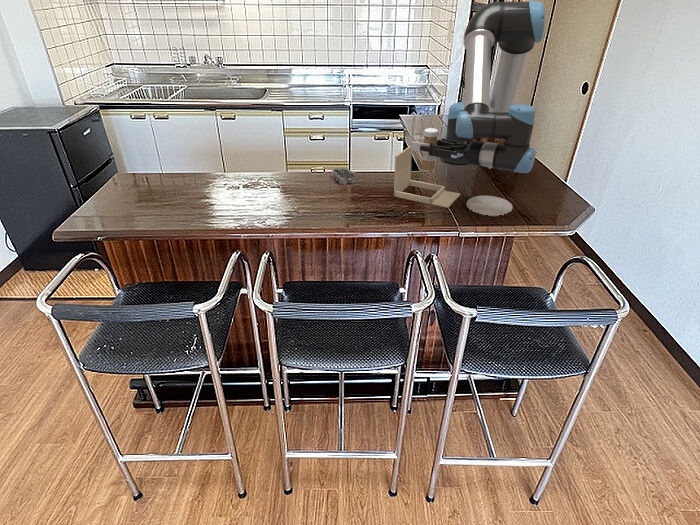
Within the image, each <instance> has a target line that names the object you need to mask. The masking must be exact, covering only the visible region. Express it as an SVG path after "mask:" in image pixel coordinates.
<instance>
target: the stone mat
mask: <svg viewBox="0 0 700 525" xmlns="http://www.w3.org/2000/svg"><path fill="white" fill-rule="evenodd" d="M466 207H467V209H468V208H469V209H468V210H469V211H471V210H472V211H471V212H473V213H475V212H476V213H475V214H477V213H479V214H478V215H481V214H482V216H486V215H488V216H487V217H500V216H499V215H502V216H505V215H504V214H506V215H508V214H510V213H511V212H512V211H513V204H512V203H511V202H510V201H508V200H506V199H504V198H502V197H498V196H495V195H494V196H493V195H477V196H473V197H470V198H469V199H468V200H467V201H466ZM509 212H510V213H509ZM507 213H508V214H507Z"/></svg>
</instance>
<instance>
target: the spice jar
mask: <svg viewBox="0 0 700 525" xmlns="http://www.w3.org/2000/svg"><path fill="white" fill-rule="evenodd" d="M438 135H439V130H438V129H437V128H433V127H428V128H425V129H424V131H423V136H424V137H423V138H424V143H427V144H430V143H432V146H437V141H438ZM436 158H437V157H435V156H429V153H428V152H422V165H421V168H422V170H425V171H433V170H435V168H436V167H435V166H436V164H435V163H436Z"/></svg>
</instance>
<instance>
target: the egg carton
mask: <svg viewBox="0 0 700 525" xmlns="http://www.w3.org/2000/svg"><path fill="white" fill-rule="evenodd" d="M331 171H332V178H333V179H335V182H338V183H339V185H343V186H346V185H348V184H350V183H351V184H355V183H356V182H357V175H358V174H357V172H356V171H352V170H350V169H349V168H347V167H346V168H345V169H344V167H342V168H340V167H339V168H331Z"/></svg>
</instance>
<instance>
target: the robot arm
mask: <svg viewBox="0 0 700 525" xmlns="http://www.w3.org/2000/svg"><path fill="white" fill-rule="evenodd" d="M545 21H546V8H545V4H544V3H543V2H542V1H533V0H529V1H492V2H490V3H488V4H485V5H483V6H482V7H481V8H479V9H478V10H477V11H476V12H475V13H474V14H473V15H472V17H471V19H470V20H469V22H468V24H467V25H466V28H465V29H464V30H465V31H464V35H463V47H464V49H465V50H466V52H465V53H466V55H465V71H464V72H465V75H464V76H465V77H464V96H463V99H464V100H463V101H459V102H456V103H453V104H452V105H450V106H449V109H448V115H447V125H446V134H445V135H446V136H445V138H443V137H442V138H441V139H437V146H432V143H430V144H427V143H424V137H418V139H417V140H418V141H411V146H412V151H416V152H422V153H423V152H428V153H429V156H435V157H436V158H439V159H440V158H441V159H442V160H444V161H446V162H449V163H448V164H450V163H454V164H453V165H457V164H463V165H473V166H481V167H485V168H488V169H489V170H491V169H497V170H502V171H507V172H508V171H509V172H513V173H518V174H519V173H520V174H521V173H522V174H528V173H530V172H531V170H532V168H533V166H534V163H535V159H536V154H537V152H536V149H534V148H532V147H530V146H531V144H530V142H531V138H532V134H533V129H534V126H535V118H536V109H535V108H534V107H533V106H531V105H528V104H523V103H522V104H516V103H515V102H514V100H515V98H516V94H517V89H518V86H519V83H520V79H521V76H522V72H523V69H524V66H525V63H526V58H527V55H528V53H530V52H531V51H532V50H533V49H534V47H535V43H536V44H538V43H541V42H542V40H543V38H544V33H545V32H544V31H545V23H546V22H545ZM495 43H498V47H499V49H500V50H501V52H500V55H499V58H498V65H497V69H496V72H495V73H496V74H495V77H494V82H493V87H492V91H491V95H490V90H491V62H492V60H491V59H492V58H491V56H492V47H493V46H494V44H495ZM475 139H494V140H495V139H496V140H498V139H499V140H501V139H502V140H503V142H502V143H497V142H489V141H486V142H484V141H480V140H475ZM441 159H440V160H441ZM442 160H441V161H442ZM444 161H443V162H444ZM446 162H445V163H446Z"/></svg>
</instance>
